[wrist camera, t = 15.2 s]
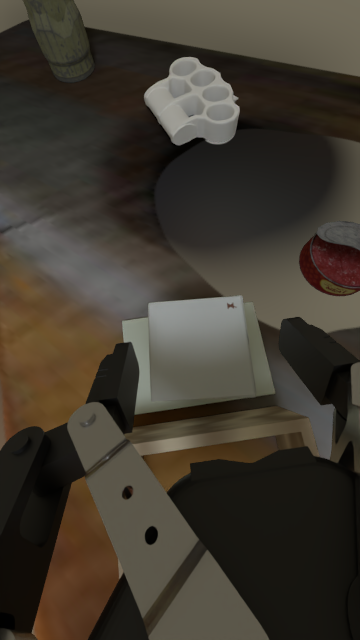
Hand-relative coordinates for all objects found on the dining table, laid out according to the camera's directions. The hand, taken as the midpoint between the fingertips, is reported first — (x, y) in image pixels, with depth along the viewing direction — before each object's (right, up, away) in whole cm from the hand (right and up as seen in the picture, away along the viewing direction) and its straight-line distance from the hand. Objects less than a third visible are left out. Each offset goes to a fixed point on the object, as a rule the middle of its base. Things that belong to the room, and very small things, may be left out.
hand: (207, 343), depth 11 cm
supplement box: (0, -4, +16) cm, 16 cm away
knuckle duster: (+1, +40, +28) cm, 48 cm away
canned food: (+21, +9, +19) cm, 30 cm away
